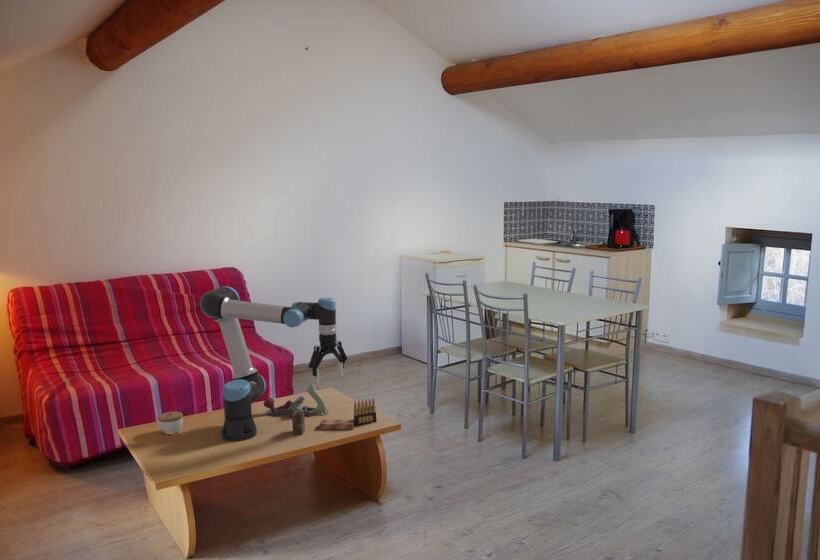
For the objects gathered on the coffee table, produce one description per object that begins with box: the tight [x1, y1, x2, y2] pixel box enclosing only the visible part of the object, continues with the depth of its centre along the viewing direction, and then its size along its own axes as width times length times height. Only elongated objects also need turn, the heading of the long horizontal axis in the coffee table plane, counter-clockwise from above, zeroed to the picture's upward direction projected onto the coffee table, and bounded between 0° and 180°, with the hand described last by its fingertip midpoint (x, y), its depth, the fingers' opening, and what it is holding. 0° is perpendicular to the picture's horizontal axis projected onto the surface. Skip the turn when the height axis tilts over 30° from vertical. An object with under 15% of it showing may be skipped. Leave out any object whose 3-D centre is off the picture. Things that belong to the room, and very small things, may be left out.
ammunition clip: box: [353, 397, 378, 427], centre depth 324 cm, size 11×2×12 cm, turn 115°
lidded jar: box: [157, 411, 184, 434], centre depth 319 cm, size 11×11×9 cm
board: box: [318, 419, 355, 430], centre depth 320 cm, size 15×6×2 cm, turn 86°
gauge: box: [291, 410, 306, 436], centre depth 316 cm, size 4×10×10 cm, turn 176°
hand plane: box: [263, 383, 329, 417], centre depth 339 cm, size 7×31×15 cm, turn 86°
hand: (328, 379), depth 317 cm, fingers open, 13 cm apart
